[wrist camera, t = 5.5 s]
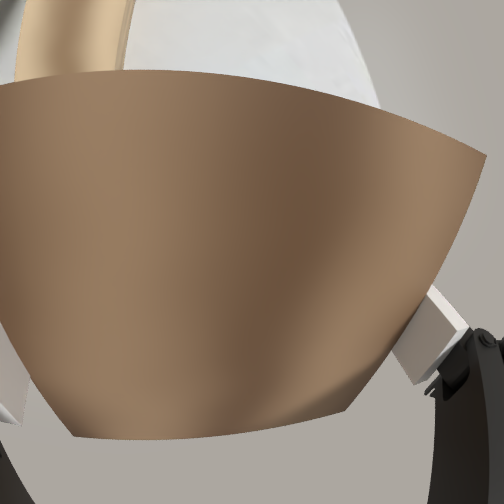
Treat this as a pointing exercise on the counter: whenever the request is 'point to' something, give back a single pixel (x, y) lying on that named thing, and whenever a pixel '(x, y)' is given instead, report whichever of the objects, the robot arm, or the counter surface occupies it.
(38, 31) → the tan wooden block
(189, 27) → the counter surface
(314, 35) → the counter surface
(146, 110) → the lid
